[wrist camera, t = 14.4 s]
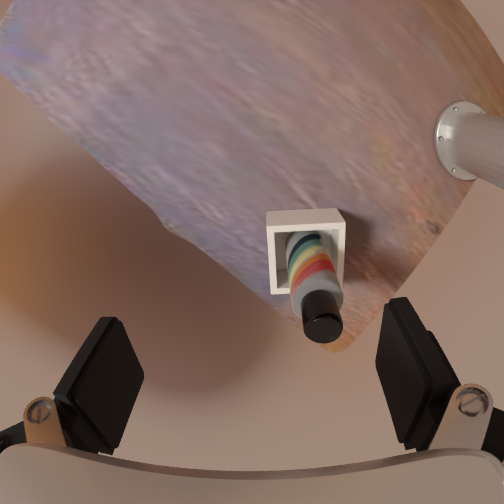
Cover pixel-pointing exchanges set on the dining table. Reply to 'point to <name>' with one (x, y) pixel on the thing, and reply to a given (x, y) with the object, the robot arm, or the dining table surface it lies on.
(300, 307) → the lotion bottle
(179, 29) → the dining table surface
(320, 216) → the caddy
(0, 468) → the robot arm
